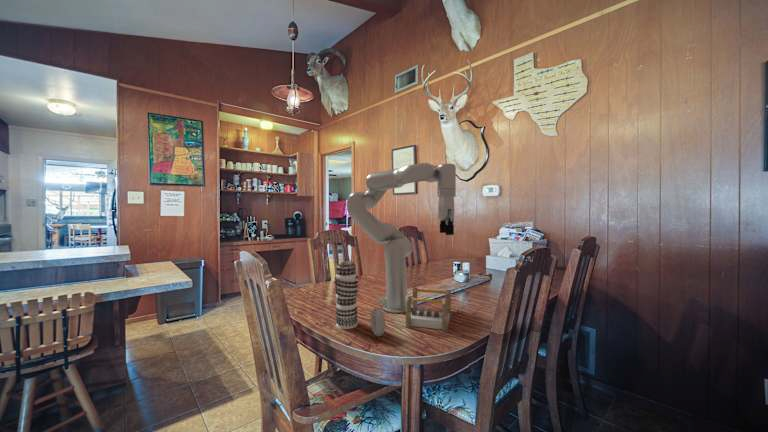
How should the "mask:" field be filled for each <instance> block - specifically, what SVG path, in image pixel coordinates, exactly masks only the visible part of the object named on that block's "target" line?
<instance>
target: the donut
mask: <svg viewBox="0 0 768 432" xmlns="http://www.w3.org/2000/svg"><path fill="white" fill-rule="evenodd" d="M383 311H384V310H382V309H381V308H379V307H374V308H373V309H372V311H371V313H370V326H371V331H372V333H373V334H374V336H375V337H381V336H383V335H384V333H385V332H386V331H385V330H386V319H385V318H386V316H385V314H384V312H383Z"/></svg>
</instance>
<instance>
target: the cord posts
mask: <svg viewBox="0 0 768 432" xmlns="http://www.w3.org/2000/svg"><path fill="white" fill-rule="evenodd" d="M417 289H418V287H417V286H414V287H412V296H411V295H407V296H406V312H405V328H406V329H411V328H412V326H411V312H412V309H413V308H414V309H417V310H418V301H411V300H410V299H411V298H418V292H417ZM445 291H446V294H445V298H442V300H441V301H442V302H443V303H441V305H442V307H441V309H442V311H441V312H442V329H441V331H442V332H443V333H448V331H449V324H448V313H449V321H450V320H451V319H452V291H451V289H446V290H445Z"/></svg>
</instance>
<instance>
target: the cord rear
mask: <svg viewBox="0 0 768 432" xmlns="http://www.w3.org/2000/svg"><path fill="white" fill-rule="evenodd" d="M418 292H419V293H431V294H443V295H446V290H435V289H424V288H421V289H420V288H419V289H418V288H417V293H418Z"/></svg>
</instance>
